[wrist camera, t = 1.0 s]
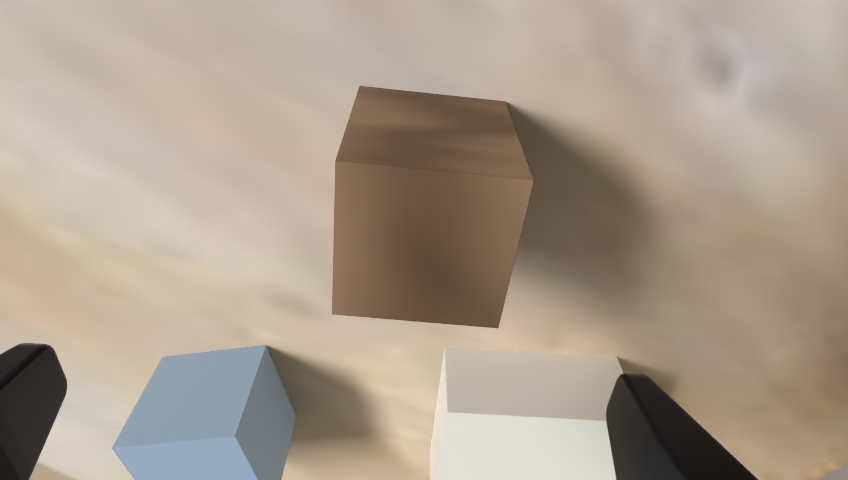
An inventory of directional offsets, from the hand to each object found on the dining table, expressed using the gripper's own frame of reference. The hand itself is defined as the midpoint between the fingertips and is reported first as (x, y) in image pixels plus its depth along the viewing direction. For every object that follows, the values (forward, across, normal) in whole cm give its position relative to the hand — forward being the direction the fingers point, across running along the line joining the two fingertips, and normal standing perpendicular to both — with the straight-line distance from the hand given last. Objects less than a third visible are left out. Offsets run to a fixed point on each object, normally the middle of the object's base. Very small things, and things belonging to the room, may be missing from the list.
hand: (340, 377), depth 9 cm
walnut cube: (+12, -1, +2) cm, 13 cm away
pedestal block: (+12, -7, +15) cm, 21 cm away
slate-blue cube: (+12, +7, +14) cm, 20 cm away
